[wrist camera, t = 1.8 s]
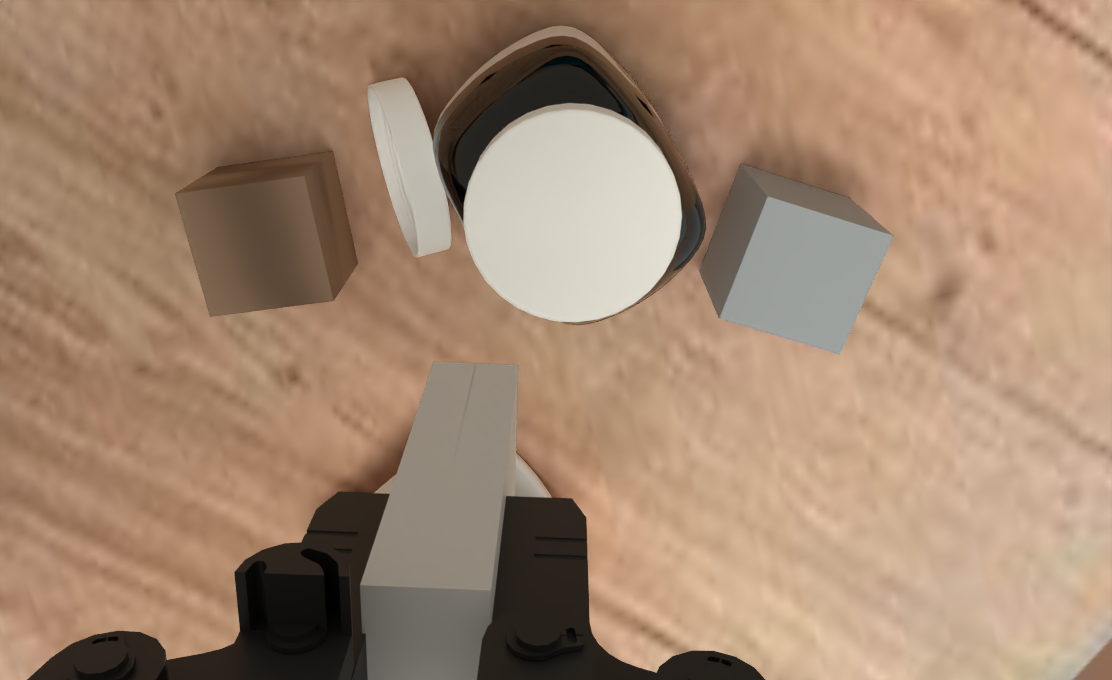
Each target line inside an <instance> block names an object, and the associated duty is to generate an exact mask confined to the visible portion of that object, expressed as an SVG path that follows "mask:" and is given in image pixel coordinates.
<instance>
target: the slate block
mask: <svg viewBox="0 0 1112 680" xmlns="http://www.w3.org/2000/svg"><path fill="white" fill-rule="evenodd" d="M892 238H893V235H892V234H891V233H890V232H889V231H887V230H886V229H885V228H884V227H883V226H882V225H881V224H879V223H878V222H877V221H876V220H875V219H874V218H872V217H871V216H870V215H869V214H868V213H867V212H865V211H864V210H863V209H862V208H861V207H860V206H859V205H857V204H856V203H855V202H854V201H853V200H852V199H850V198H848V197H845V196H842V195H839V194H835V193H832V192H829V191H826V190H823V189H820V188H816V187H813V186H810V185H807V184H804V183H801V182H797V181H794V180H791V179H788V178H785V177H782V176H778V175H775V174H772V173H769V172H766V171H763V170H759V169H756V168H753V167H750V166H747V165H744V164H740V166H739V169H738V171H737V174H736V177H735V179H734V182H733V185H732V187H731V190H730V192H729V195H728V198H727V200H726V203H725V206H724V208H723V211H722V213H721V216H720V219H719V221H718V224H717V226H716V229H715V232H714V234H713V237H712V240H711V242H710V245H709V247H708V250H707V253H706V255H705V258H704V261H703V263H702V266H701V268H700V271H699V272H700V274H701V277H702V279H703V281H704V284H705V286H706V288H707V291H708V293H709V295H710V298H711V300H712V303H713V305H714V307H715V310H716V312H717V314H718V317H719V319H722V320H725V321H729V322H732V323H735V324H739V325H742V326H746V327H749V328H752V329H756V330H759V331H762V332H766V333H769V334H772V335H776V336H779V337H782V338H786V339H789V340H793V341H796V342H799V343H803V344H806V345H809V346H813V347H816V348H819V349H823V350H826V351H829V352H833V353H836V354H839V355H840V353H841V351H842V349H843V346H844V344H845V342H846V340H847V338H848V335H849V333H850V331H851V329H852V327H853V324H854V322H855V320H856V318H857V316H858V313H859V311H860V309H861V307H862V304H863V302H864V300H865V298H866V296H867V293H868V291H869V289H870V287H871V285H872V282H873V280H874V278H875V276H876V274H877V271H878V269H879V267H880V265H881V262H882V260H883V258H884V256H885V254H886V251H887V249H888V247H889V245H890V243H891V240H892Z"/></svg>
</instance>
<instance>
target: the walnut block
mask: <svg viewBox="0 0 1112 680" xmlns="http://www.w3.org/2000/svg"><path fill="white" fill-rule="evenodd" d="M175 195H176V199H177V202H178V206H179V209H180V213H181V216H182V220H183V223H184V227H185V230H186V234H187V237H188V241H189V244H190V248H191V251H192V255H193V258H194V262H195V265H196V269H197V272H198V276H199V279H200V283H201V286H202V290H203V293H204V297H205V300H206V304H207V307H208V311H209V314H210V317H212V316H220V315H228V314H235V313H243V312H251V311H259V310H266V309H274V308H282V307H290V306H297V305H305V304H313V303H321V302H328V301H334V299H335V298H336V296H337V295H338V293H339V292H340V290H341V289H342V287H343V286H344V284H345V283H346V281H347V280H348V278H349V276H350V275H351V273H352V272H353V270H354V269H355V267H356V266H357V264H358V262H357V258H356V253H355V249H354V244H353V240H352V235H351V231H350V226H349V222H348V217H347V212H346V208H345V203H344V199H343V194H342V190H341V185H340V181H339V176H338V172H337V167H336V163H335V158H334V154H333V151H331V152H323V153H316V154H309V155H302V156H294V157H287V158H280V159H273V160H265V161H258V162H251V163H244V164H236V165H229V166H222V167H217V168H215V169H214V170H212V171H211V172H209V173H207V174H206V175H204V176H203V177H201V178H199V179H198V180H196V181H195V182H193V183H191V184H190V185H188V186H187V187H185V188H183V189H182V190H180V191H179V192H177V193H175Z"/></svg>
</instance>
